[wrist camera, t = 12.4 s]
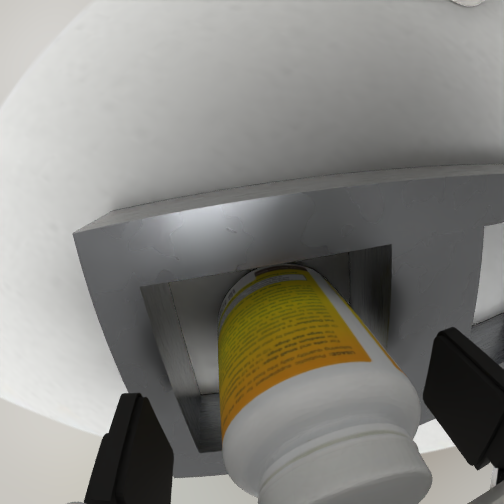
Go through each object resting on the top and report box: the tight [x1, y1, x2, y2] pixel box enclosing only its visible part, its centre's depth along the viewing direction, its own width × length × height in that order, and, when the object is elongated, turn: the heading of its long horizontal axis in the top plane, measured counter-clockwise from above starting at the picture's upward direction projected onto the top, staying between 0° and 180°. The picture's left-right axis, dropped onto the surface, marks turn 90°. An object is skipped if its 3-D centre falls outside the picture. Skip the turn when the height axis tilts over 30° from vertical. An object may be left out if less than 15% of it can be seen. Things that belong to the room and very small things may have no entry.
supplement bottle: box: [218, 263, 432, 504], centre depth 10 cm, size 6×6×10 cm
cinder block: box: [73, 164, 504, 478], centre depth 13 cm, size 12×24×4 cm, turn 98°
